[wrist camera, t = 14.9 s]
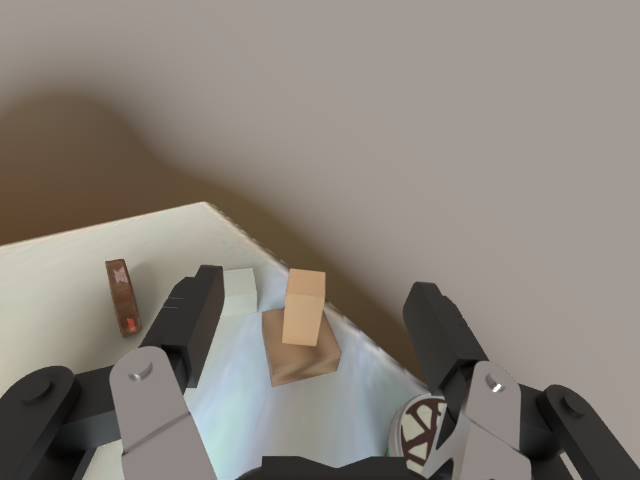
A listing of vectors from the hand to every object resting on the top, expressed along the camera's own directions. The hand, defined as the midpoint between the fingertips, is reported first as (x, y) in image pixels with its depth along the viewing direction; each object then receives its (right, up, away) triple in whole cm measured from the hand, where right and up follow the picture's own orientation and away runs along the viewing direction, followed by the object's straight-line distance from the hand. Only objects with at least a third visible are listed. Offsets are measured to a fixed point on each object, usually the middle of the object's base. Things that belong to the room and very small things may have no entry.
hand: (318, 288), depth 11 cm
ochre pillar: (-3, -12, +30) cm, 33 cm away
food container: (+10, -25, +22) cm, 35 cm away
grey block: (-16, -10, +40) cm, 44 cm away
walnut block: (-4, -16, +33) cm, 37 cm away
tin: (-33, -11, +35) cm, 49 cm away
